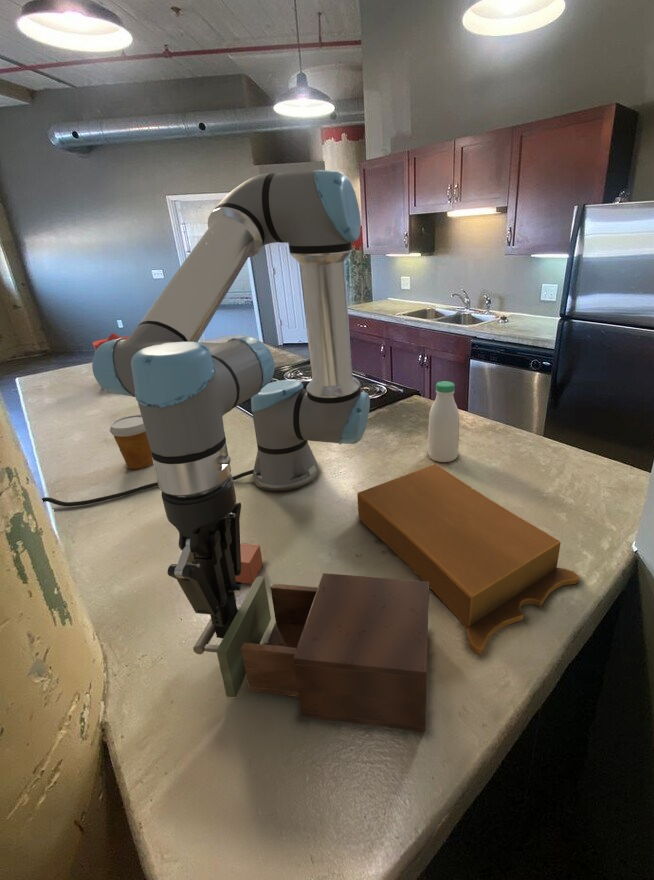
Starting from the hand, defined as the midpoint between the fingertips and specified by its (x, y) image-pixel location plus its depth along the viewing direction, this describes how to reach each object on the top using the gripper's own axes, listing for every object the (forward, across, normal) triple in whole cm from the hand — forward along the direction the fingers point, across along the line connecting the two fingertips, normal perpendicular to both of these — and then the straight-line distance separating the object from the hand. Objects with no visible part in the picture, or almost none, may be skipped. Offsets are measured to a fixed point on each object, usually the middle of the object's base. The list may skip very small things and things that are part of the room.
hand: (229, 633), depth 55 cm
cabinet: (+4, 0, -19) cm, 19 cm away
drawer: (+3, 0, -6) cm, 7 cm away
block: (+4, +15, +5) cm, 16 cm away
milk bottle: (+5, +60, -29) cm, 67 cm away
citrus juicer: (+5, +114, +104) cm, 154 cm away
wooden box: (+5, +25, -31) cm, 40 cm away
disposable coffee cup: (+5, +49, +49) cm, 69 cm away
